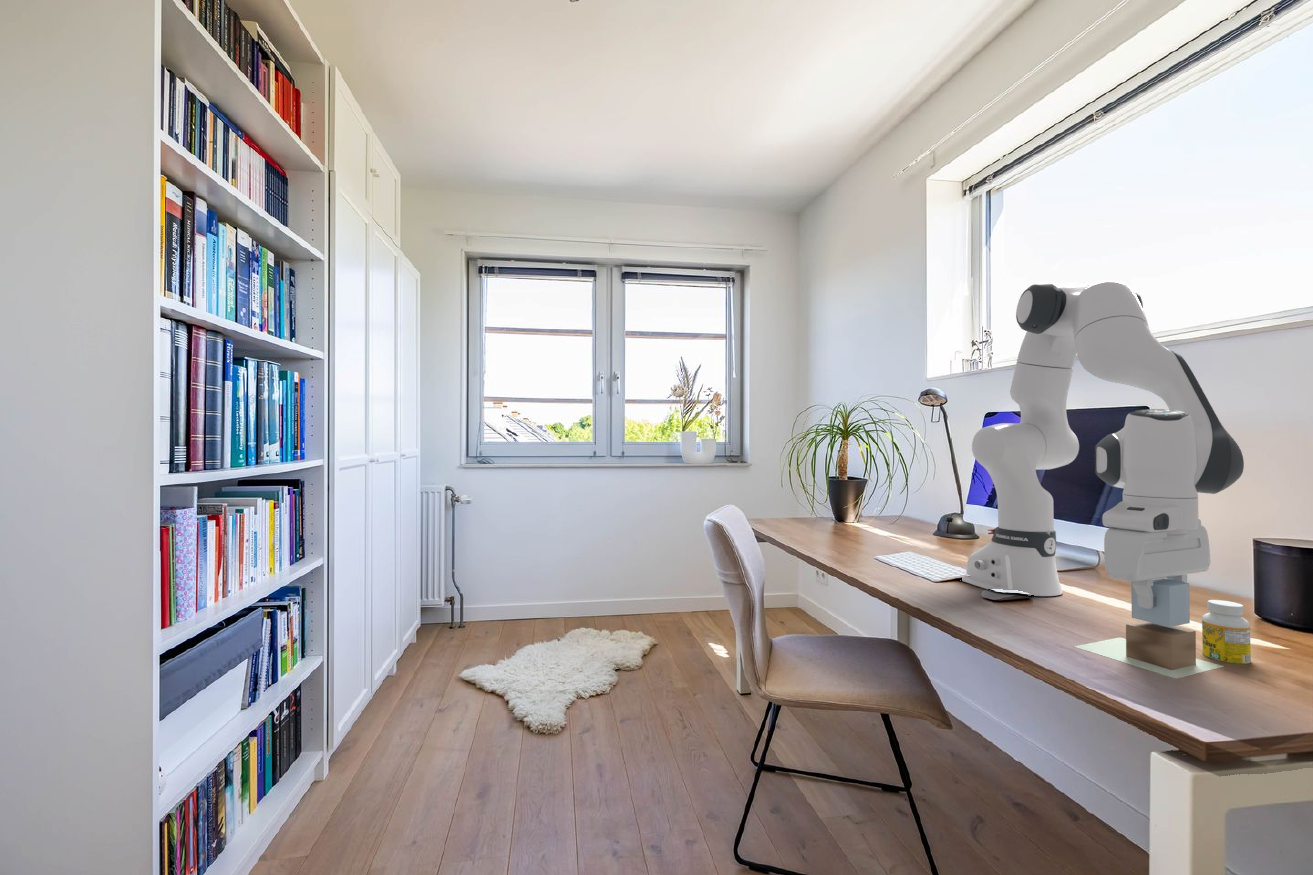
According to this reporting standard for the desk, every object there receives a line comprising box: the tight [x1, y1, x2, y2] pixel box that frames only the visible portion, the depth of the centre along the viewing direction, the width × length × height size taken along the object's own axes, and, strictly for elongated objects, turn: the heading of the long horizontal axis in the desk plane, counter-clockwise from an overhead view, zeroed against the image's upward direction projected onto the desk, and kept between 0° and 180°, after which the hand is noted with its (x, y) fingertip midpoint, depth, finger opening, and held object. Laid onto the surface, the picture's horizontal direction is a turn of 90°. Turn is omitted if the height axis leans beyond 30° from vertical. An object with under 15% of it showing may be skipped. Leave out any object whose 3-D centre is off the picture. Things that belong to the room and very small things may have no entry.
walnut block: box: [1125, 620, 1197, 670], centre depth 90 cm, size 6×6×5 cm
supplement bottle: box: [1201, 599, 1252, 665], centre depth 91 cm, size 5×5×10 cm
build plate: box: [1073, 637, 1225, 680], centre depth 92 cm, size 14×12×1 cm
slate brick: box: [1130, 578, 1191, 627], centre depth 90 cm, size 5×5×6 cm
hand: (1159, 605), depth 90 cm, fingers closed on slate brick, 5 cm apart
